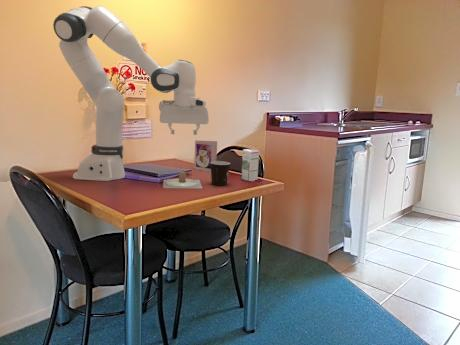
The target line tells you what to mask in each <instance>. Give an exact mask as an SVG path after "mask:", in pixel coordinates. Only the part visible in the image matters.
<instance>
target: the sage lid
mask: <svg viewBox="0 0 460 345" xmlns="http://www.w3.org/2000/svg"><path fill="white" fill-rule="evenodd" d="M196 180H197V179H194V178H193V179H192V178H187V172H185V171H180V172H178V177H177V178H170V179H169V180H167V181H166V184H167V185H169V186H172V187H182V188H181V189H187V188H186V187H195V186H197V185H198V184H199V182H198V181H196Z"/></svg>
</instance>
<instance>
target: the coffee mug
mask: <svg viewBox="0 0 460 345" xmlns="http://www.w3.org/2000/svg"><path fill="white" fill-rule="evenodd" d="M210 166H211V172H210V178H211V185H212V186H214V187H224V186H227V185H228V184H227V183H228V177H229V173H230V167H231V162H228V161H223V160H222V161H221V160H216V161H213V162H210Z"/></svg>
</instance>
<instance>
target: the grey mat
mask: <svg viewBox="0 0 460 345" xmlns="http://www.w3.org/2000/svg"><path fill="white" fill-rule="evenodd" d="M166 179H167V178H166ZM167 180H169V179H167ZM167 180H164V181H163V182H162V183H163V185H162V188H163V189H183V188H182V187H172V186H169V185H167V184H166V181H167ZM195 180H196V181H198V182H199V184H198V185H197V186H195V187H186V188H185V189H197V190H198V189H199V190H200V189H203V186H202V183H201V181H200V179H195Z"/></svg>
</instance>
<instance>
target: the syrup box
mask: <svg viewBox="0 0 460 345" xmlns="http://www.w3.org/2000/svg"><path fill="white" fill-rule="evenodd" d="M259 159H260V151H259V150H257V149H253V148H246V149H242V157H241V173H240V174H241V177H240V178H241V180H242V181H246V182H249V181H251V182H256V181H255V180H257V181H258V178H259V176H258V174H259V161H260V160H259Z"/></svg>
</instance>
